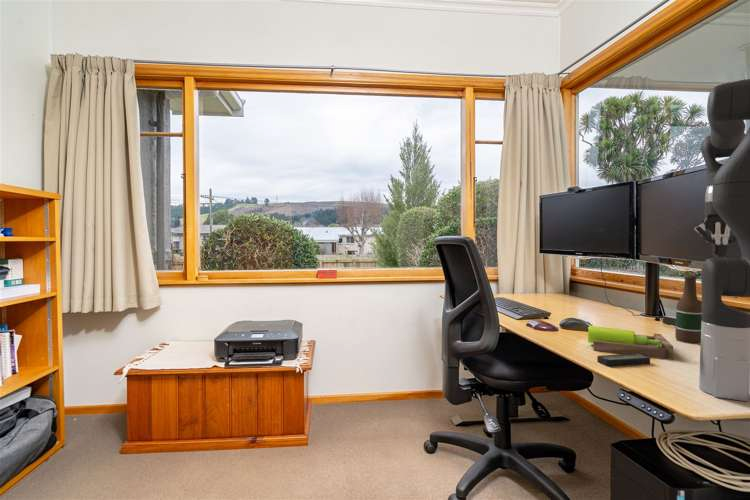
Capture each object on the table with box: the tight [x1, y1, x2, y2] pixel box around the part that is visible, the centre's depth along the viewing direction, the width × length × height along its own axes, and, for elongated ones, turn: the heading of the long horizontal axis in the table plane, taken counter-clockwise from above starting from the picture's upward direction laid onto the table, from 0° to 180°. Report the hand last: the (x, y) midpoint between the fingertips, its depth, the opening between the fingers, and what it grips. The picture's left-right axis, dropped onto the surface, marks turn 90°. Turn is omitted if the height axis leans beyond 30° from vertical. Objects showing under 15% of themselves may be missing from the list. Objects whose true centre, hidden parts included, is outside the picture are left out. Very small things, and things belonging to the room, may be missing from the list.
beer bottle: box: [674, 274, 702, 345], centre depth 138 cm, size 8×8×24 cm
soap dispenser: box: [587, 325, 660, 347], centre depth 128 cm, size 6×7×20 cm
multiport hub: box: [596, 353, 651, 368], centre depth 116 cm, size 4×14×2 cm, turn 98°
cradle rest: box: [592, 333, 674, 360], centre depth 130 cm, size 16×22×4 cm
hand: (719, 257), depth 117 cm, fingers closed
